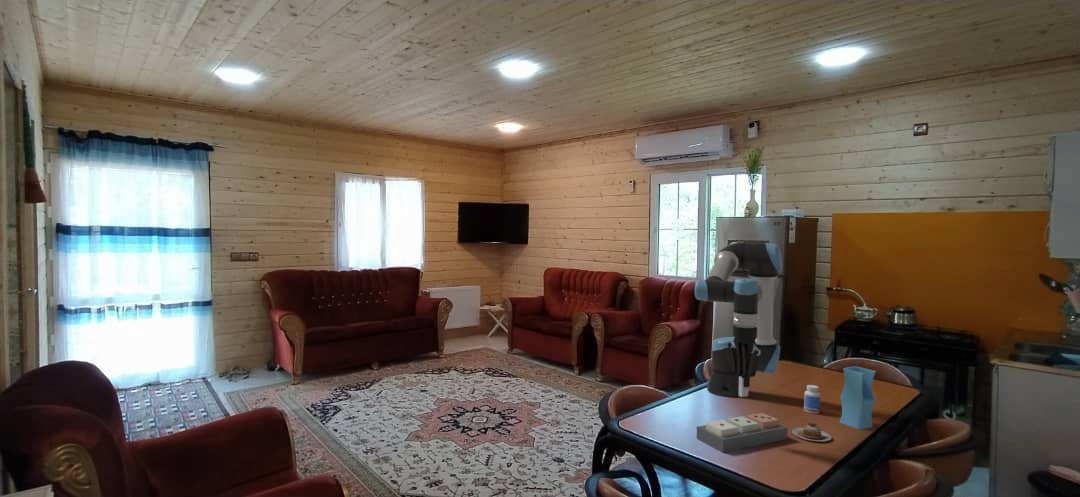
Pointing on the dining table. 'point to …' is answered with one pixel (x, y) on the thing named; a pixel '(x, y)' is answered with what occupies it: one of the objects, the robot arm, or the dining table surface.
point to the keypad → (742, 438)
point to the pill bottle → (812, 399)
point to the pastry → (812, 433)
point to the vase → (857, 397)
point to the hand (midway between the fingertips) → (743, 395)
